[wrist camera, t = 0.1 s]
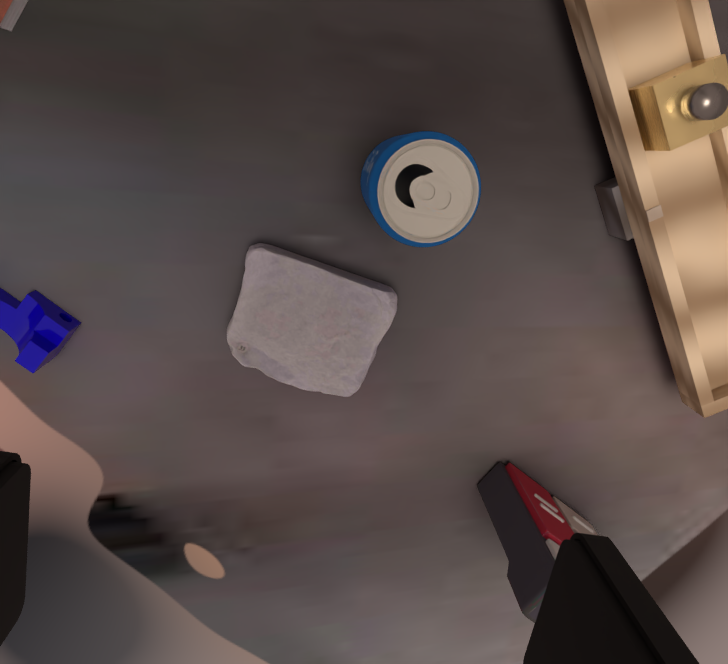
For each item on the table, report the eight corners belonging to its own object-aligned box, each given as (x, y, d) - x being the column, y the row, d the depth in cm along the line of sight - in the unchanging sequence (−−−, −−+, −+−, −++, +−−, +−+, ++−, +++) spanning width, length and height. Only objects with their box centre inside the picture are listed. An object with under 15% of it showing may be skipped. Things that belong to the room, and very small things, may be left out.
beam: (535, -7, 42) (567, -32, 36) (646, -58, 42) (697, -92, 36) (656, 389, 51) (698, 421, 45) (749, 352, 51) (804, 379, 45)
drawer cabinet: (593, 521, 54) (687, 654, 40) (560, 554, 55) (640, 696, 41) (504, 453, 52) (569, 568, 38) (470, 488, 53) (521, 615, 39)
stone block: (362, 382, 52) (404, 278, 47) (359, 415, 47) (404, 304, 43) (225, 338, 51) (255, 227, 46) (209, 368, 46) (240, 248, 42)
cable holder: (82, 322, 47) (60, 337, 43) (57, 355, 48) (33, 373, 44) (-11, 255, 46) (-43, 265, 42) (-36, 290, 46) (-69, 304, 42)
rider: (622, 91, 40) (666, 82, 35) (686, 63, 40) (741, 49, 34) (638, 150, 41) (683, 150, 36) (701, 123, 41) (756, 119, 35)
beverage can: (384, 119, 44) (403, 108, 32) (463, 160, 45) (507, 164, 34) (345, 201, 45) (349, 219, 34) (422, 240, 47) (451, 269, 35)
